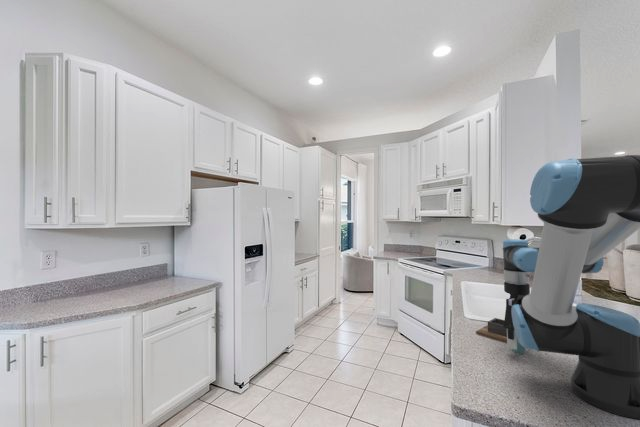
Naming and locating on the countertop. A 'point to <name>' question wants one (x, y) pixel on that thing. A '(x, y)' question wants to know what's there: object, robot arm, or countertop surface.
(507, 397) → the countertop surface
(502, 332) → the bracket board
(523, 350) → the dowel
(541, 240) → the robot arm
